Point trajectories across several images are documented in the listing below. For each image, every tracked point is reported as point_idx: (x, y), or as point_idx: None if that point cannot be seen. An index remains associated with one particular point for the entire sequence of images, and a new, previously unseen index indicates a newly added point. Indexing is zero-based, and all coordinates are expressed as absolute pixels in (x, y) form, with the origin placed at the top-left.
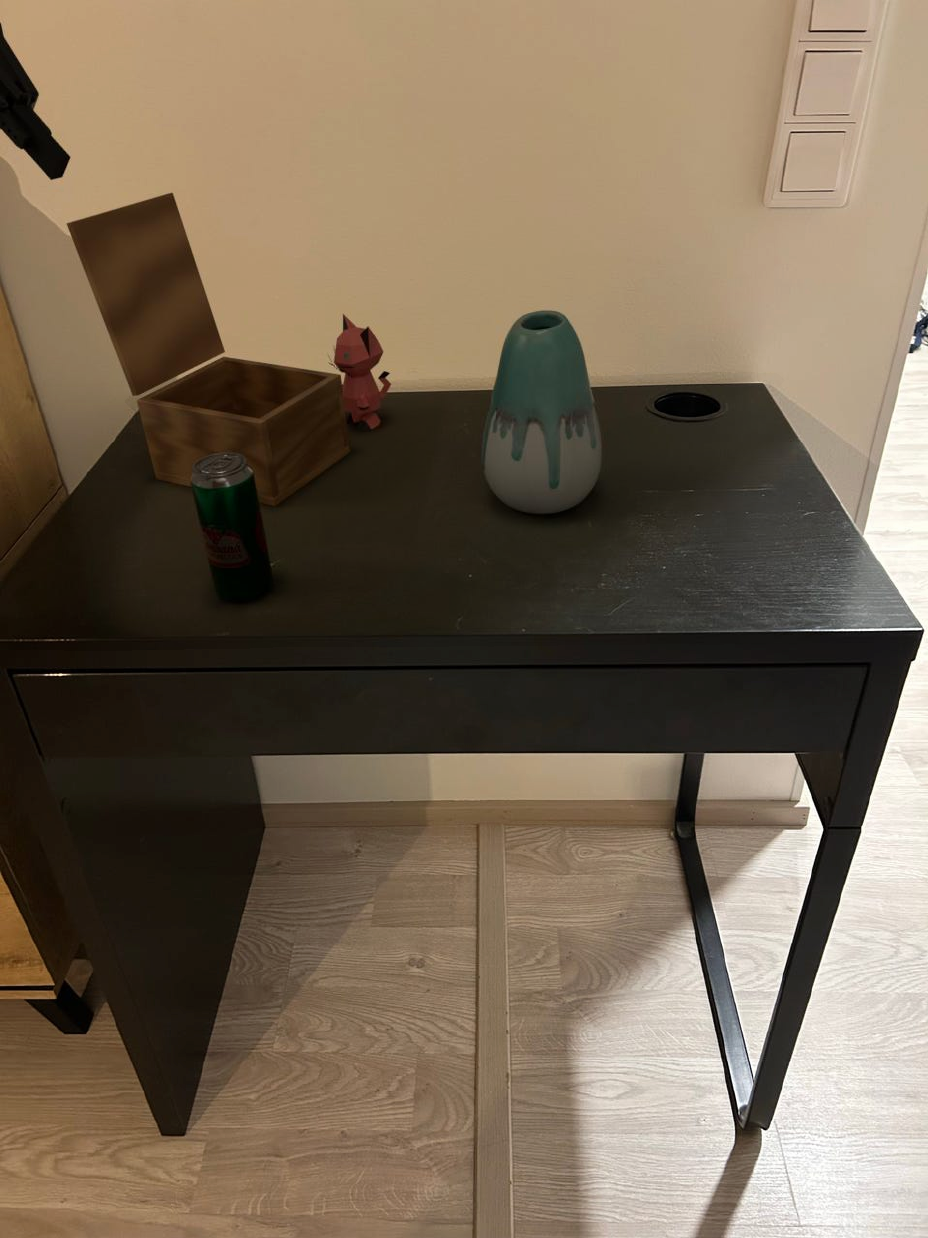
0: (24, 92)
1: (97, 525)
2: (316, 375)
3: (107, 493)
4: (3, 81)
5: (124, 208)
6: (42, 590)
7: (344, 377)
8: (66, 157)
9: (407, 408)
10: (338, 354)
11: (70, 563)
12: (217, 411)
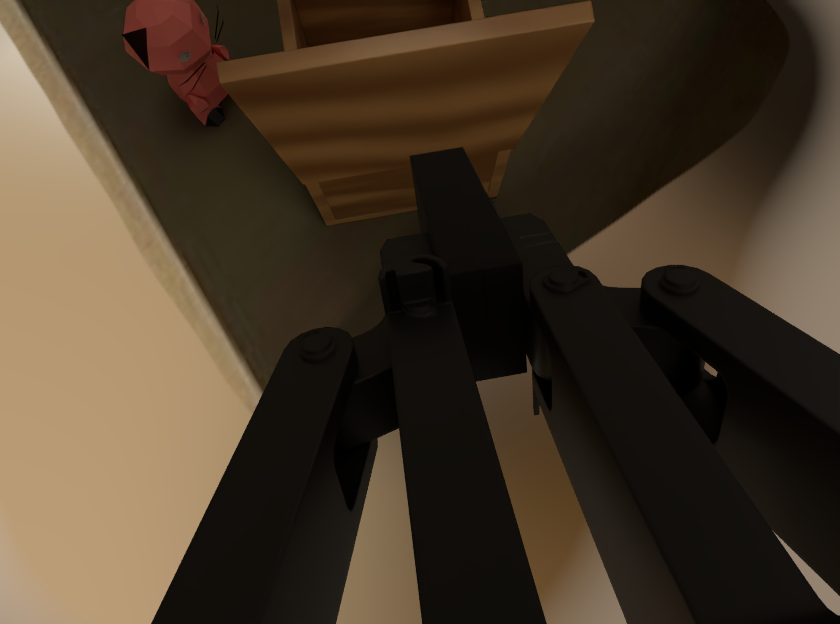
0: (354, 378)
1: (617, 156)
2: (290, 2)
3: (559, 217)
4: (466, 385)
5: (408, 31)
6: (734, 85)
7: (197, 76)
8: (426, 154)
9: (144, 79)
10: (202, 33)
11: (685, 108)
12: (472, 13)
